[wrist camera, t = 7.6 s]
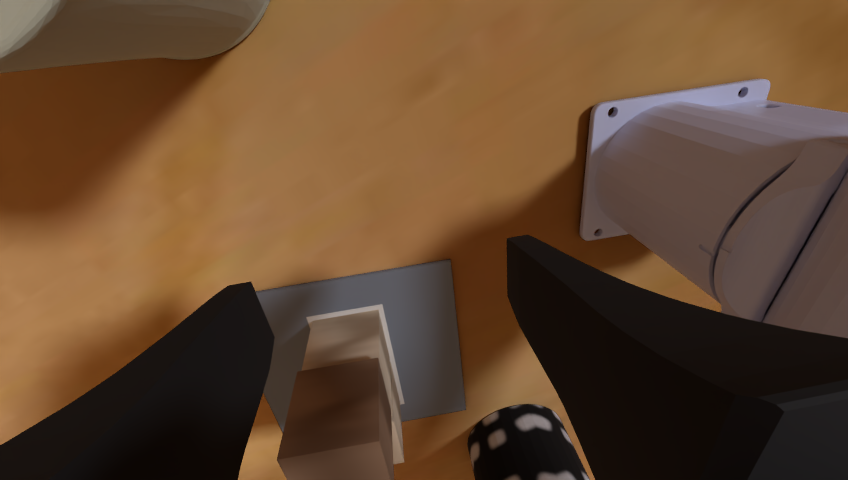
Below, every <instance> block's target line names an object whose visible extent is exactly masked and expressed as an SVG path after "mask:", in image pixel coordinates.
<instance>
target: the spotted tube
mask: <svg viewBox="0 0 848 480" xmlns="http://www.w3.org/2000/svg"><path fill="white" fill-rule="evenodd" d="M468 450H469V454H470V459H471V463H472V467H473V472H474V476H475V480H590V479H589V477H588V475H587V473H586V471H585V469H584V467H583V465H582V463H581V461H580V459H579V457H578V455H577V452H576V450H575V448H574V446H573V444H572V442H571V440H570V438H569V436H568V434H567V432H566V430H565V428H564V426H563V424H562V422H561V420H560V418H559V417H558V415H557V414H556V413H555V412H554V411H552V410H551V409H548V408H546V407H543V406H539V405H529V404H526V405H516V406H512V407H507V408H504V409H501V410H499V411H496V412H494V413H492V414H490V415H489V416H487V417H486V418H484V419H483V420H481V421H480V422H479V423H478V424H477V425H476V426H475V428H474V429H473V430H472V432H471V433H470V436H469V438H468Z"/></svg>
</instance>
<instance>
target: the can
mask: <svg viewBox="0 0 848 480" xmlns="http://www.w3.org/2000/svg"><path fill="white" fill-rule="evenodd" d="M269 2H270V0H0V73H6V72H15V71H24V70H33V69H42V68H51V67H60V66H70V65H81V64H91V63H101V62H112V61H122V60H134V59H148V58H161V57H163V58H169V59H180V60H190V59H201V58H206V57H210V56H214V55H217V54H220V53H222V52H224V51H227V50H228V49H230V48H232V47H234V46H235V45H237V44H238V43H240V42H241V41H242V40H243V39H244V38H245V37H247V36H248V35H249V34H250V33H251V32H252V30H253V29H254V28H255V27H256V25H257V24H258V23H259V21H260V20H261V18H262V16H263V15H264V13H265V11H266V9H267V6H268V4H269Z"/></svg>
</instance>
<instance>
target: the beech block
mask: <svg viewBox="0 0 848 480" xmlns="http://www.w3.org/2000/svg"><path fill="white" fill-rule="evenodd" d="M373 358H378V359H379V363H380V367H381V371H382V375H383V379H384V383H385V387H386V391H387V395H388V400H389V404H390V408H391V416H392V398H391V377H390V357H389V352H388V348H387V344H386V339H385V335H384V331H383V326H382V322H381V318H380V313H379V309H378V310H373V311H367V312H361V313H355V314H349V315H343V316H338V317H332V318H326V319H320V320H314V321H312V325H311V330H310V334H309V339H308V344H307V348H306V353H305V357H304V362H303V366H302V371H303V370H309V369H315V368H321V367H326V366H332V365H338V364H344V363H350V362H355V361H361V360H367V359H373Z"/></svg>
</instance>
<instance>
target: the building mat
mask: <svg viewBox="0 0 848 480" xmlns="http://www.w3.org/2000/svg"><path fill="white" fill-rule="evenodd" d="M256 295H257V297H258V299H259V302H260V304H261V306H262V309H263V311H264V313H265V316H266V318H267V320H268V323H269V325H270V327H271V330H272V332H273V334H274V337H275V339H274V346H273V353H272V359H271V365H270V370H269V374H268V377H267V381H266V384H265V387H264V391H263V393H264V395H265V397H266V399H267V401H268V403H269V405H270V407H271V409H272V411H273V413H274V415H275V417H276V419H277V421H278V423H279V425H280V428H281V430H282V432H283V431H284V427H285V422H286V418H287V414H288V409H289V405H290V401H291V396H292V392H293V388H294V383H295V379H296V375H297V372H298V371H302V366H303V362H304V357H305V353H306V348H307V344H308V339H309V334H310V330H311V325H312V321H314V320H320V319H326V318H332V317H338V316H343V315H349V314H355V313H361V312H367V311H373V310H378V309H379V313H380V318H381V322H382V326H383V331H384V335H385V339H386V344H387V348H388V352H389V357H390V362H391V365H392V369H393V374H394V378H395V382H396V387H397V391H398V395H399V400H400V410H401V422H403V421H409V420H414V419H419V418H425V417H430V416H435V415H441V414H446V413H452V412H457V411H462V410H466V405H465V395H464V386H463V376H462V366H461V356H460V347H459V337H458V327H457V317H456V308H455V298H454V288H453V279H452V269H451V260H450V259H448V260H442V261H436V262H430V263H424V264H418V265H412V266H406V267H400V268H394V269H388V270H382V271H376V272H370V273H364V274H358V275H352V276H346V277H340V278H334V279H328V280H322V281H316V282H310V283H304V284H298V285H292V286H286V287H280V288H274V289H268V290H262V291H256Z"/></svg>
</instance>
